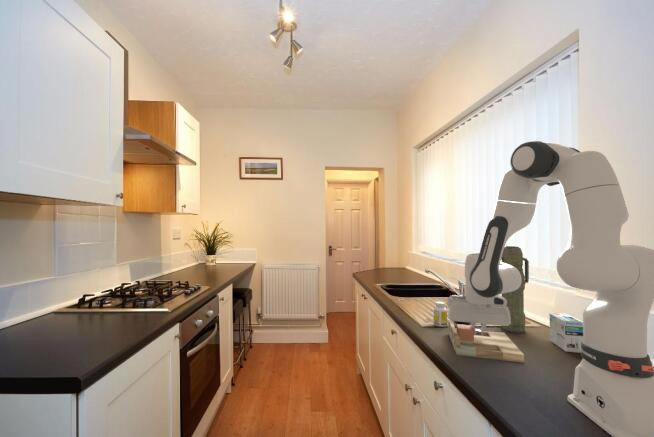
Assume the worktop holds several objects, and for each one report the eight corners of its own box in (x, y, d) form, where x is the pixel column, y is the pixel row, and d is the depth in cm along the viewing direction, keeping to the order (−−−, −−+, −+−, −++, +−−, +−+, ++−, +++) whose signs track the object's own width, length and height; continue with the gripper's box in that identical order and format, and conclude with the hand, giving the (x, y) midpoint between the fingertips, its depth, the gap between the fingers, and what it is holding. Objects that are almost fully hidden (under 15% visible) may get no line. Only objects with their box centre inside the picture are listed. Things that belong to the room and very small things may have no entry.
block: (474, 341, 105) (474, 329, 105) (458, 339, 106) (458, 328, 106) (471, 336, 110) (471, 325, 110) (456, 334, 111) (456, 324, 111)
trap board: (524, 362, 94) (523, 345, 94) (456, 354, 99) (456, 338, 100) (504, 339, 113) (504, 325, 113) (448, 334, 119) (448, 320, 119)
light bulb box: (587, 354, 101) (587, 322, 101) (565, 352, 102) (564, 320, 103) (568, 342, 112) (568, 313, 112) (548, 340, 113) (548, 312, 113)
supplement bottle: (447, 324, 131) (447, 301, 131) (446, 327, 126) (446, 304, 126) (434, 322, 133) (434, 300, 134) (433, 325, 128) (433, 303, 129)
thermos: (493, 325, 130) (492, 245, 131) (521, 326, 129) (521, 246, 130) (502, 332, 121) (502, 247, 122) (533, 333, 120) (532, 247, 121)
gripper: (448, 296, 107) (448, 335, 107) (512, 301, 101) (512, 341, 101) (446, 292, 113) (446, 329, 113) (506, 296, 108) (506, 335, 107)
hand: (478, 335), depth 107 cm, fingers closed
